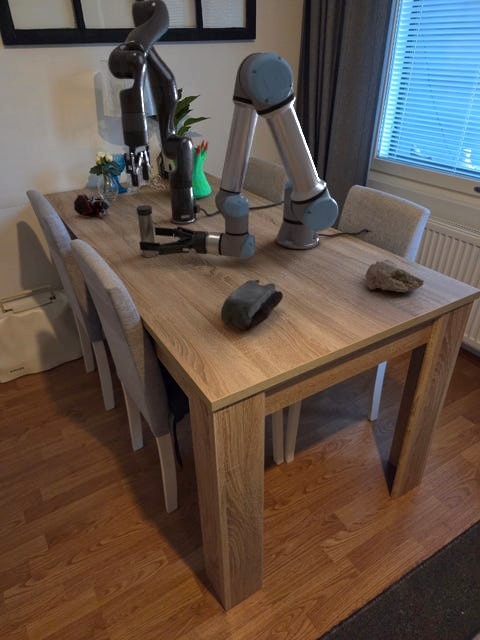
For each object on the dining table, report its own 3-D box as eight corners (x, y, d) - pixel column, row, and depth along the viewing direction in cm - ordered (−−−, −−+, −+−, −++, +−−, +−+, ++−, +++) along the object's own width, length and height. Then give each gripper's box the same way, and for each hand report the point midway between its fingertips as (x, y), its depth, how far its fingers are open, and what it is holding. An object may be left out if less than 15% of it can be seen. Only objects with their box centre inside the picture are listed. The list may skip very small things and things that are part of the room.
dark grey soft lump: (254, 340, 110) (255, 313, 105) (215, 329, 114) (214, 302, 110) (284, 308, 123) (285, 283, 119) (248, 299, 128) (248, 274, 124)
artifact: (384, 303, 127) (425, 296, 132) (391, 281, 123) (434, 275, 127) (349, 272, 141) (388, 267, 145) (355, 251, 136) (395, 247, 141)
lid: (143, 216, 144) (142, 210, 143) (134, 213, 147) (133, 207, 146) (155, 213, 148) (154, 207, 147) (145, 210, 150) (145, 204, 149)
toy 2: (167, 190, 223) (163, 137, 210) (207, 188, 227) (205, 135, 214) (172, 202, 206) (167, 145, 193) (214, 199, 210) (213, 143, 197)
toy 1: (101, 187, 180) (72, 186, 186) (93, 207, 178) (64, 205, 183) (117, 205, 191) (89, 203, 196) (109, 223, 188) (82, 221, 194)
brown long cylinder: (148, 258, 152) (143, 211, 144) (140, 254, 155) (134, 209, 146) (158, 254, 155) (153, 208, 147) (150, 251, 158) (145, 205, 149)
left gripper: (134, 124, 140) (140, 177, 149) (112, 131, 128) (120, 188, 137) (156, 125, 139) (160, 178, 147) (136, 132, 127) (142, 190, 135)
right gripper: (198, 269, 139) (134, 263, 142) (217, 240, 160) (161, 235, 163) (197, 246, 135) (131, 241, 139) (217, 219, 156) (159, 215, 159)
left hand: (141, 183), depth 142 cm, fingers open, 7 cm apart
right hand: (147, 238), depth 151 cm, fingers open, 13 cm apart
